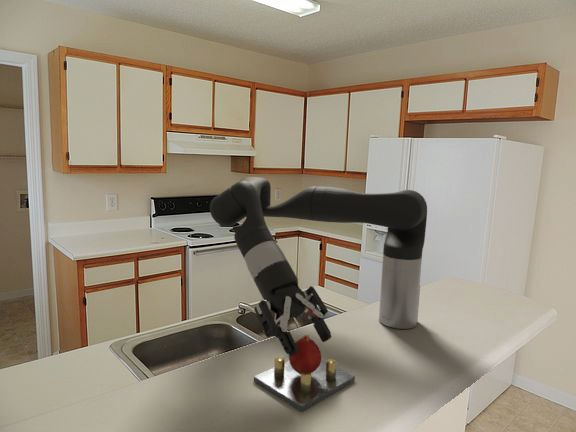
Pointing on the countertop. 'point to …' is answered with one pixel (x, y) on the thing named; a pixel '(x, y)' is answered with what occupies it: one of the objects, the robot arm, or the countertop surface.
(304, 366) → the onion
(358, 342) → the countertop surface
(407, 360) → the countertop surface
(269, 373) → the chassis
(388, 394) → the countertop surface
